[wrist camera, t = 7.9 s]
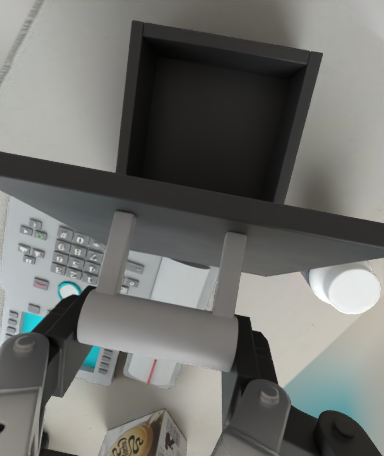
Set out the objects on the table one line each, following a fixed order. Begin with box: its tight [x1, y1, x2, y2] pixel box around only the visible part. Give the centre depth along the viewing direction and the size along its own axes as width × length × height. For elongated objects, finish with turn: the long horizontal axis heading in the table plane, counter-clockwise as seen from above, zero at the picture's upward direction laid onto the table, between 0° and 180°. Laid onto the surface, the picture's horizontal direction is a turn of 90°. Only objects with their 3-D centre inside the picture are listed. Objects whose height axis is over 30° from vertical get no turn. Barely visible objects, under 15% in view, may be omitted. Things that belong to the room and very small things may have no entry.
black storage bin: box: [116, 20, 323, 205], centre depth 28 cm, size 17×14×7 cm
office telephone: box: [0, 196, 219, 389], centre depth 36 cm, size 23×3×20 cm
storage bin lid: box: [0, 152, 384, 372], centre depth 18 cm, size 18×14×5 cm
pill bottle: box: [300, 260, 381, 314], centre depth 29 cm, size 5×5×9 cm
